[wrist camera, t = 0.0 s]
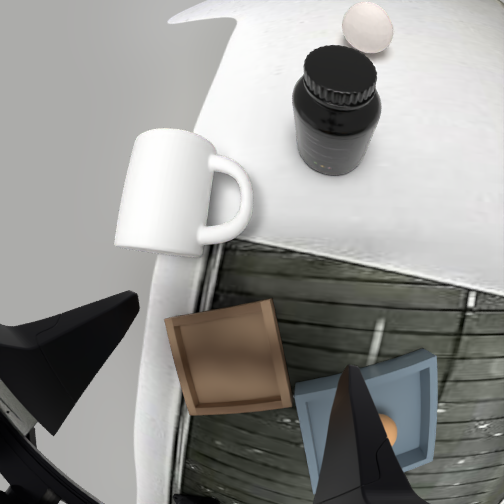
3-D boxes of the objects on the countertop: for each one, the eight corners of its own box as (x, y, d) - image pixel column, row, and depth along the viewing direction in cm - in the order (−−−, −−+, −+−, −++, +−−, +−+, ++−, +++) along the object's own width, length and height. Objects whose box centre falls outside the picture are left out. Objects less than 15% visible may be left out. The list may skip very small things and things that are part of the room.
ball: (390, 434, 20) (402, 457, 16) (349, 446, 21) (355, 471, 17) (389, 400, 21) (403, 420, 17) (345, 413, 22) (352, 436, 17)
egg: (397, 57, 25) (409, 15, 17) (362, 68, 25) (371, 22, 18) (365, 30, 26) (371, -10, 18) (330, 40, 26) (331, -4, 19)
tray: (293, 396, 23) (292, 406, 21) (197, 406, 25) (189, 415, 23) (272, 298, 25) (269, 299, 23) (174, 316, 26) (164, 319, 24)
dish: (423, 446, 20) (432, 460, 17) (313, 476, 22) (313, 494, 19) (422, 348, 22) (436, 355, 18) (295, 382, 24) (294, 395, 20)
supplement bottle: (307, 111, 26) (304, 27, 14) (369, 131, 25) (397, 52, 13) (287, 165, 26) (273, 88, 14) (354, 187, 24) (387, 121, 13)
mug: (144, 252, 28) (95, 243, 20) (159, 164, 29) (119, 133, 21) (255, 264, 26) (234, 257, 18) (265, 163, 26) (251, 121, 18)
